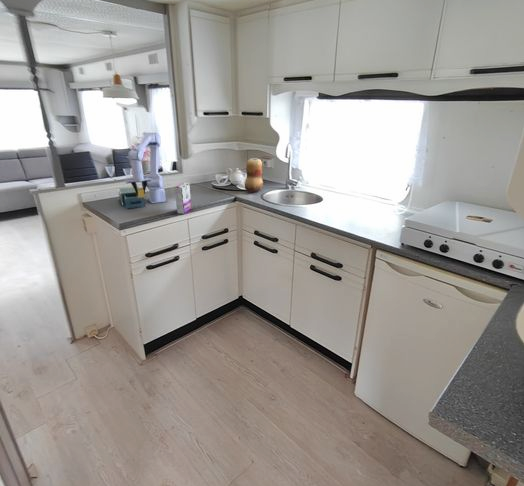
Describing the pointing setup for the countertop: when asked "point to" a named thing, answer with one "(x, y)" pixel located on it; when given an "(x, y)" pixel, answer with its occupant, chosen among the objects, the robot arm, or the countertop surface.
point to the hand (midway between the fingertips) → (140, 194)
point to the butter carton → (140, 192)
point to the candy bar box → (183, 198)
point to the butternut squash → (254, 175)
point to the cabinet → (125, 191)
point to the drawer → (133, 200)
